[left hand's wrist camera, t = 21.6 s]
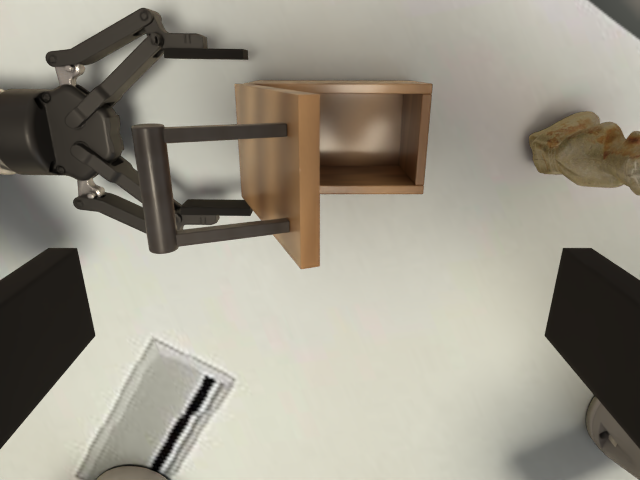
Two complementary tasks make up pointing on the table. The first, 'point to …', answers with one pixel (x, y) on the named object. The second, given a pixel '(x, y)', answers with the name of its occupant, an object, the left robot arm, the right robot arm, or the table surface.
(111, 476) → the bust sculpture
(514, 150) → the table surface
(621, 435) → the left robot arm
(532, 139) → the sculpture
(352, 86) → the chest
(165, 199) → the lid
